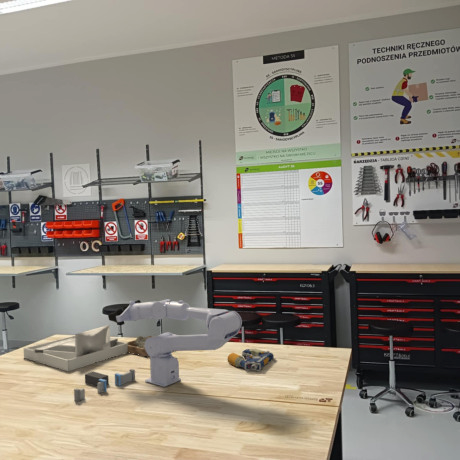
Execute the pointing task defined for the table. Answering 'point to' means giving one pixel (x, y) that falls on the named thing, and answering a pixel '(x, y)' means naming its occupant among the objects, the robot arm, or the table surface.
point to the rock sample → (141, 341)
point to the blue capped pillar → (102, 387)
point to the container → (79, 344)
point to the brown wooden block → (136, 348)
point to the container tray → (78, 361)
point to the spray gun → (251, 359)
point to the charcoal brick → (95, 378)
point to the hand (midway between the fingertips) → (117, 313)
